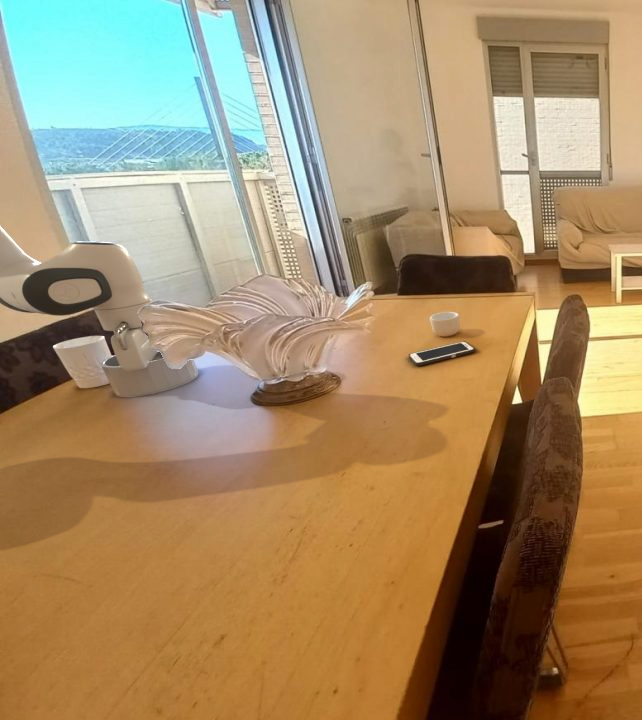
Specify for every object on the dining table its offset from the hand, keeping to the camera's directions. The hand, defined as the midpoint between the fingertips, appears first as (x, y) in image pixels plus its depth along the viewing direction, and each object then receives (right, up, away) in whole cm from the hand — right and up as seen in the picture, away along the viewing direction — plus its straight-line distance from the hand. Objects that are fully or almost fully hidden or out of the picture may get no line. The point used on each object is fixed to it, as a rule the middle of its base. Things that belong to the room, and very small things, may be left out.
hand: (155, 375), depth 107 cm
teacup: (+56, +11, +28) cm, 63 cm away
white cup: (-15, -2, +2) cm, 15 cm away
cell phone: (+61, +5, +12) cm, 62 cm away
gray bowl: (0, -2, +1) cm, 2 cm away
